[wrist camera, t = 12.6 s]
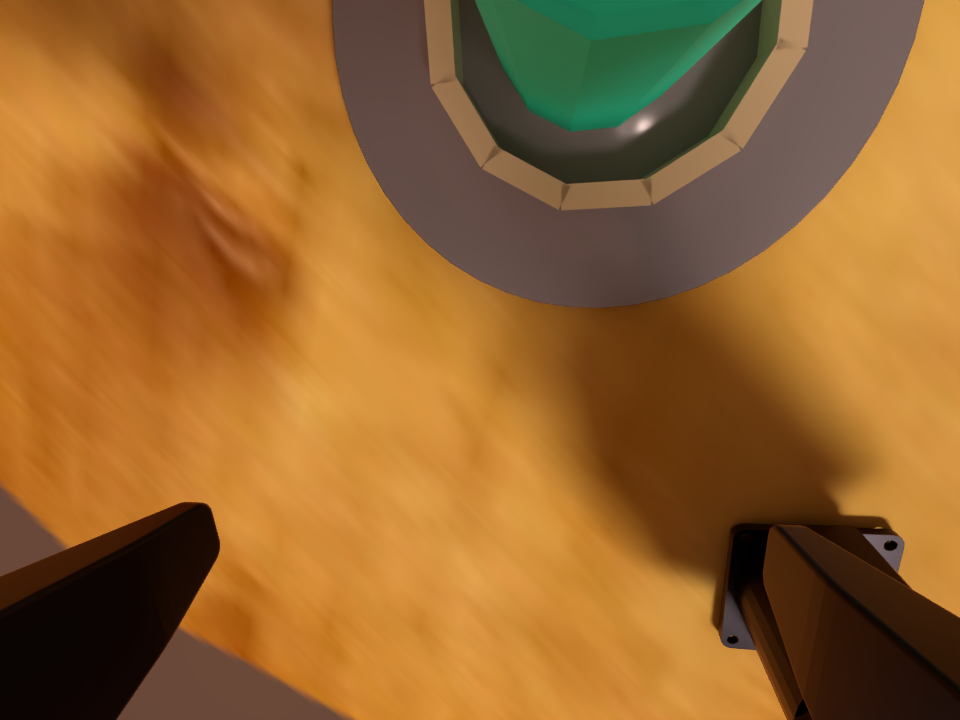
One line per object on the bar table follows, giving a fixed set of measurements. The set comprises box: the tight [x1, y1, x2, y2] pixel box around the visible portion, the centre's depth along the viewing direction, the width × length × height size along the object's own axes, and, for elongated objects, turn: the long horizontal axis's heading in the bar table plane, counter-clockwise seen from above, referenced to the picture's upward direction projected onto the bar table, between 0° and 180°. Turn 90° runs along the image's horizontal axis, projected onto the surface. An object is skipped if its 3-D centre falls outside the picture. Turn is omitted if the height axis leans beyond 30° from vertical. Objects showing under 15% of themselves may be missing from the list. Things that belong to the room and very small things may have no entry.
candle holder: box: [332, 0, 924, 308], centre depth 15 cm, size 18×18×2 cm
